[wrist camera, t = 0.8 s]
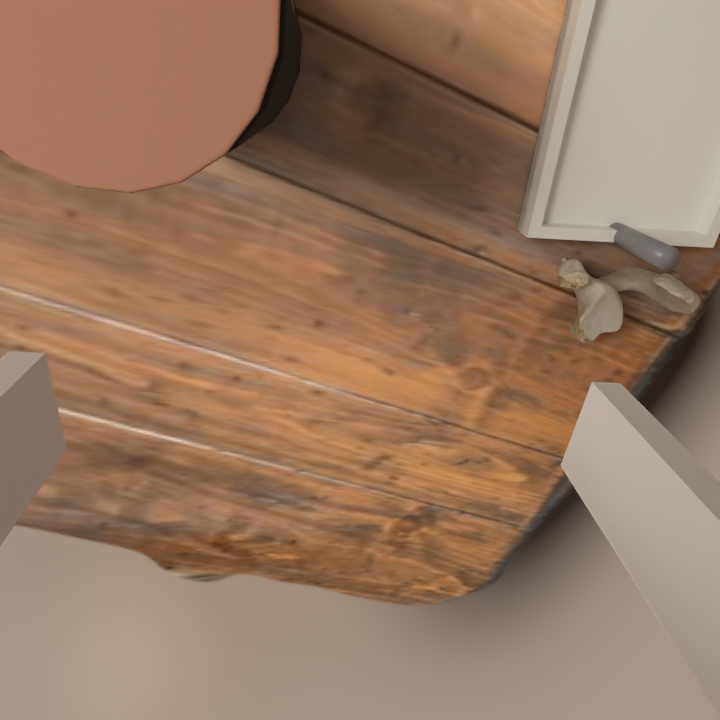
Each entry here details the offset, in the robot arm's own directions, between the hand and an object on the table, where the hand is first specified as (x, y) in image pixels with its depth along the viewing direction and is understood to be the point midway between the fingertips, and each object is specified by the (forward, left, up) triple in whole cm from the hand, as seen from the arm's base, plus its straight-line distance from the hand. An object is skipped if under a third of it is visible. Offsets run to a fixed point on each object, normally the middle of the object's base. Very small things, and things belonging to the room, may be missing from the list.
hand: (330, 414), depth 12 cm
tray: (-7, +21, -25) cm, 33 cm away
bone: (+5, +20, -25) cm, 32 cm away
